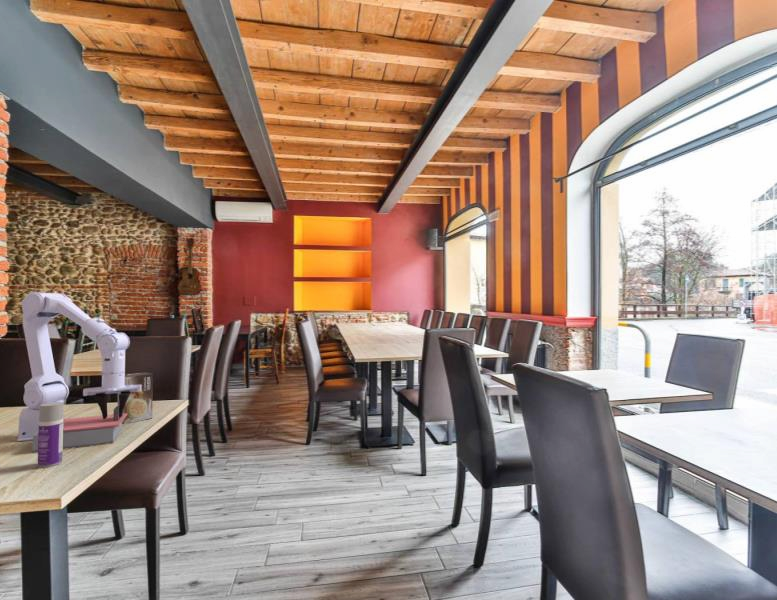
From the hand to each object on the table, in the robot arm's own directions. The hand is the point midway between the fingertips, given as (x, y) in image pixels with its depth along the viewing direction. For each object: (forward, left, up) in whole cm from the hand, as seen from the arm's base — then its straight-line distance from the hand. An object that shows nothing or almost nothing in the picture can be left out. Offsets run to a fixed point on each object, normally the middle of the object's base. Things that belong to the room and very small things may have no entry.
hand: (112, 417), depth 119 cm
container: (-10, -19, -6) cm, 22 cm away
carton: (-8, 0, -6) cm, 10 cm away
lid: (-6, 0, -1) cm, 6 cm away
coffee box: (+3, +19, -6) cm, 20 cm away
